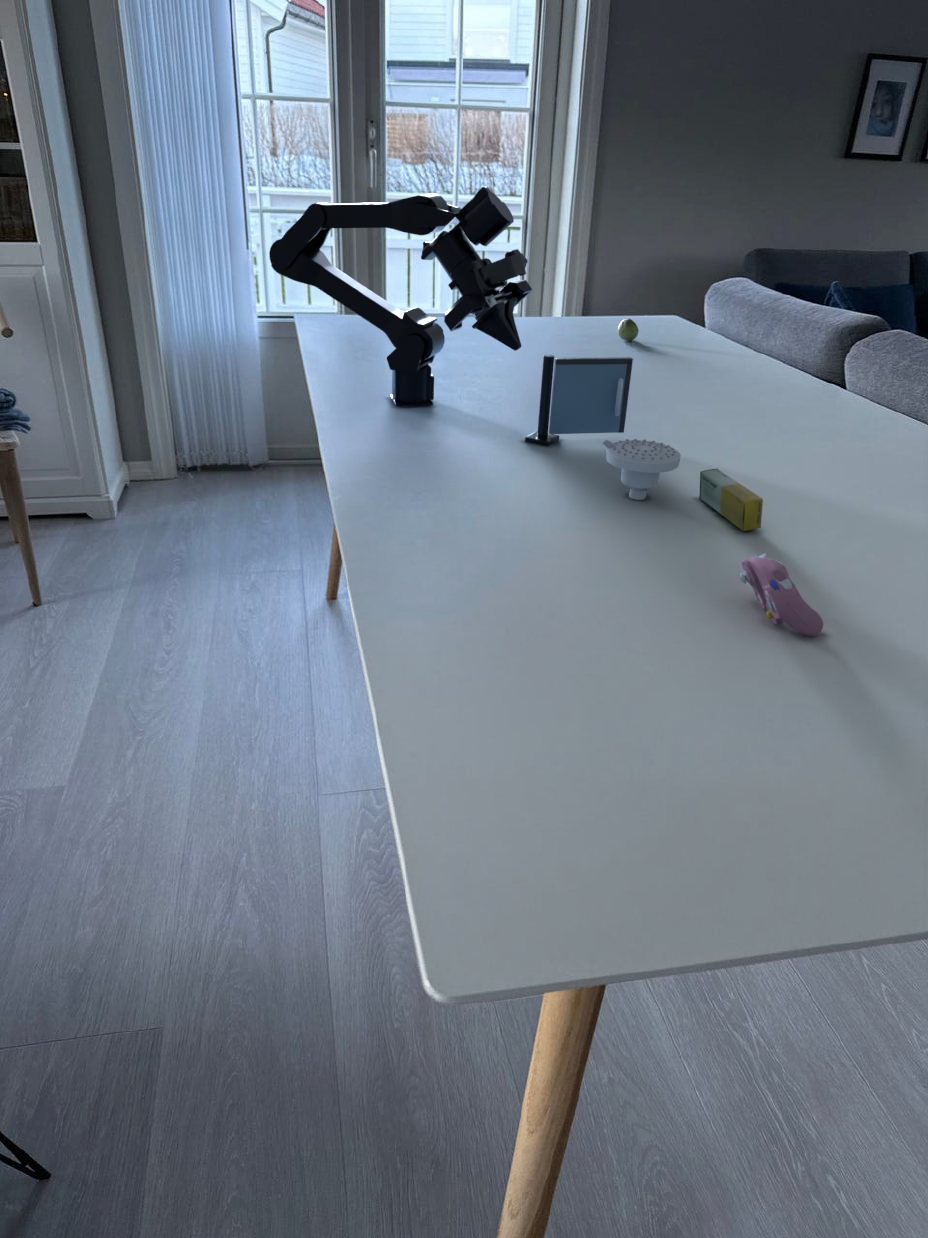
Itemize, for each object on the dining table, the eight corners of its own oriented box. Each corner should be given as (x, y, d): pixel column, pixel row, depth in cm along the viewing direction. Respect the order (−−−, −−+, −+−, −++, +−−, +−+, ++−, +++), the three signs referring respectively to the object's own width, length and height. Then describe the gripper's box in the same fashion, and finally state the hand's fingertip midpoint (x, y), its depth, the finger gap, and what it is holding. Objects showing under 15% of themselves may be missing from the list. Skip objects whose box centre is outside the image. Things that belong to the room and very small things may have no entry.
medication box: (697, 499, 119) (698, 470, 117) (716, 496, 120) (718, 467, 118) (741, 532, 109) (744, 500, 107) (762, 528, 109) (765, 497, 107)
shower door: (548, 432, 139) (554, 357, 134) (621, 430, 142) (630, 357, 136) (552, 436, 137) (559, 361, 132) (626, 435, 140) (636, 360, 134)
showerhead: (605, 429, 120) (681, 436, 119) (599, 481, 124) (673, 488, 122) (600, 450, 112) (682, 458, 111) (594, 505, 116) (673, 513, 114)
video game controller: (746, 606, 95) (728, 552, 92) (787, 588, 95) (770, 533, 91) (783, 653, 86) (764, 595, 83) (829, 634, 86) (812, 575, 83)
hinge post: (524, 441, 139) (530, 356, 133) (536, 435, 142) (542, 351, 136) (548, 446, 137) (555, 359, 131) (559, 440, 140) (566, 355, 134)
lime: (616, 338, 215) (618, 316, 213) (636, 339, 215) (639, 317, 212) (616, 341, 211) (619, 319, 209) (637, 342, 211) (640, 320, 208)
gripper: (464, 238, 131) (524, 329, 132) (526, 226, 145) (580, 308, 146) (418, 286, 139) (475, 372, 139) (482, 270, 152) (533, 348, 153)
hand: (518, 348), depth 144 cm, fingers closed
